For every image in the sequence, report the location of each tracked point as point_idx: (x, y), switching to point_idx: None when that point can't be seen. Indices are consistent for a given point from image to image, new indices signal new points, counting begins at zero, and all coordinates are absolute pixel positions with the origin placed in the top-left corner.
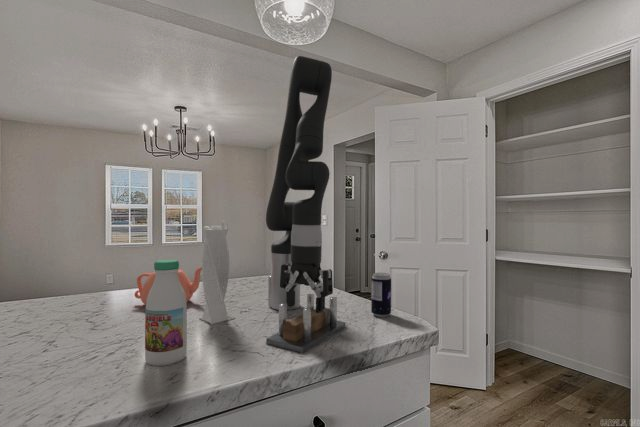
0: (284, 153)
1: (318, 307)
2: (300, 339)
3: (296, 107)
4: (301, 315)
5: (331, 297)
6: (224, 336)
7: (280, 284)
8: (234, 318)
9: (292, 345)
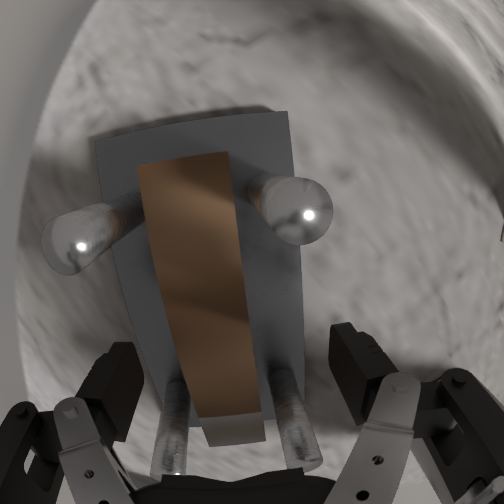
0: None
1: (106, 360)
2: None
3: None
4: (242, 321)
5: None
6: (439, 98)
7: (471, 380)
8: (501, 240)
9: (142, 130)
